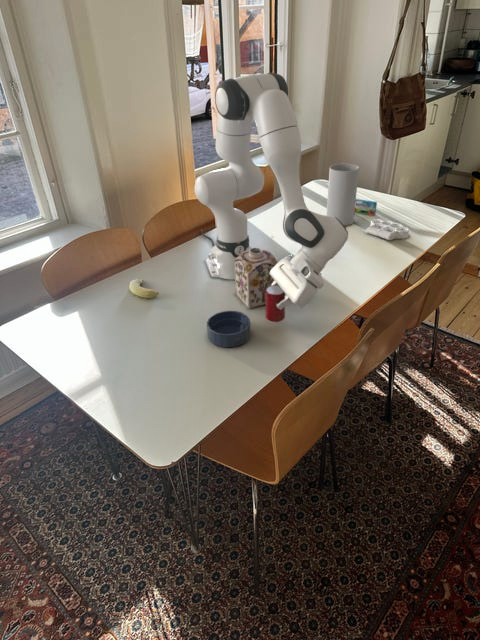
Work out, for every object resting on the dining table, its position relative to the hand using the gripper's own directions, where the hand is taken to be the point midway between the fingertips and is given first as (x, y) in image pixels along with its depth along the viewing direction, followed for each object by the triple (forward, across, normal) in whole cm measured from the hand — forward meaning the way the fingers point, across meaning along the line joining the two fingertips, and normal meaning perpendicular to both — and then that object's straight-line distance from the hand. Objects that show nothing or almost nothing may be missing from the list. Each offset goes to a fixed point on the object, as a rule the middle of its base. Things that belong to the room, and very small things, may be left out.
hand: (273, 301), depth 138 cm
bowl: (+17, -1, -3) cm, 17 cm away
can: (+4, 0, +4) cm, 6 cm away
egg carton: (-44, -50, +59) cm, 89 cm away
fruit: (+32, -39, -17) cm, 53 cm away
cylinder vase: (-36, -70, +50) cm, 93 cm away
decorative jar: (+6, -19, +8) cm, 22 cm away
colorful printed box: (-46, -75, +61) cm, 108 cm away
